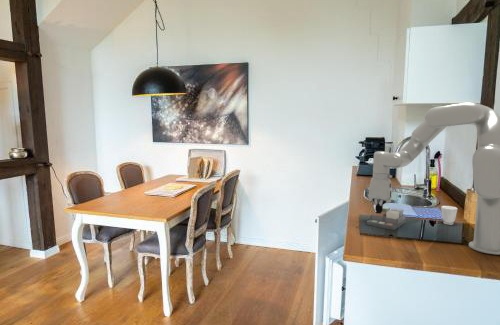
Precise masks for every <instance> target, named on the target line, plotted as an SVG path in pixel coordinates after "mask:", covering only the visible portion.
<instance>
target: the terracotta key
mask: <svg viewBox="0 0 500 325" xmlns="http://www.w3.org/2000/svg"><path fill="white" fill-rule="evenodd" d="M372 214H373V215H374V216H380V217H384V216H386V213H385V212H381V213H376V211H374V212H373V213H372Z"/></svg>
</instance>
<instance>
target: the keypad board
mask: <svg viewBox="0 0 500 325" xmlns="http://www.w3.org/2000/svg"><path fill="white" fill-rule="evenodd" d="M405 223H406V214H404V213H403V216H401V217H399V218H398V219H391V218H386V216H384V217H380V216H374V215H373V213H372V214H371V215H370V219H369V220H366V226H372V227H376V228H381V229H382V228H383V229H388V230H391V231H392V230H393V231H394V230H397V228H399V227H400V226H402V225H404V224H405Z"/></svg>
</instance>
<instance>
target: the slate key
mask: <svg viewBox="0 0 500 325" xmlns="http://www.w3.org/2000/svg"><path fill="white" fill-rule="evenodd" d="M390 210H391V211H398V212H399V217H401V216H403V214H404V209H403V208H396V207H393V208H390Z"/></svg>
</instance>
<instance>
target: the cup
mask: <svg viewBox="0 0 500 325" xmlns="http://www.w3.org/2000/svg"><path fill="white" fill-rule="evenodd" d="M440 209H441V217H442V221H443V222H442V223H443V224H444V225H451V226H452V225H454V222H455V221H456V218H457V214H458V213H457V212H458V208H457V207H456V206H451V205H441V206H440Z"/></svg>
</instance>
